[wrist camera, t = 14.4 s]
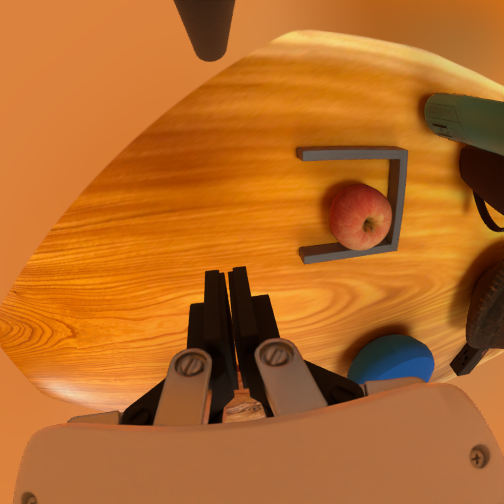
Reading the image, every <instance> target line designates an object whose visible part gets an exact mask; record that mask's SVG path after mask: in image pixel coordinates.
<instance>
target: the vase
mask: <svg viewBox="0 0 504 504" xmlns="http://www.w3.org/2000/svg"><path fill="white" fill-rule="evenodd" d="M434 365H435V364H434V358H433V355H432V353H431V351H430V350H429V349H428V347H427V346H426V345H425V344H423V343H422V342H420V341H418V340H416V339H414V338H412V337H411V336H405V335H398V334H393V335H387V336H383V337H380V338H377V339H375V340H373V341H372V342H370V343H369V344H367V345H366V346H365V347H364V348H363V349H361V351H360V352H359V353H358V354H357V356H356V357H355V358H354V360H353V362H352V364H351V366H350V369H349V371H348V375H347V379H350V380H352V381H354V382H356V383H357V384H365V381H375V380H385V379H395V378H403V377H419V378H421V379H423V380H424V381H425V382H426V383H428V381H429V379H430V377H431V375H432V372H433V370H434Z"/></svg>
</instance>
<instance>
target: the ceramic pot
mask: <svg viewBox="0 0 504 504" xmlns="http://www.w3.org/2000/svg"><path fill="white" fill-rule="evenodd" d="M466 341H467V342H468V344H469V345H470V346H471V347H472V348H476V349H480V348H499V349H504V259H503V260H501V261H500V262H498V263H497V264H495V265H494V266H492V267H491V268H489V269H488V270H487V271H485V272H484V273H483V274H482V275H481V277H480V278H479V279H478V281H477V282H476V284H475V287H474V290H473V292H472V297H471V301H470V306H469V311H468V315H467V323H466Z"/></svg>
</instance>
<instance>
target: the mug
mask: <svg viewBox="0 0 504 504" xmlns="http://www.w3.org/2000/svg"><path fill="white" fill-rule="evenodd" d="M493 153H494V152H490V151H487V150H485V151H484V150H483V149H482V148H481V149H480V148H479V147H475V146H472V145H467V146H465V147H464V148H462V149H461V154H460V161H459V167H460V174H461V178H462V179H463V180H464V181H465V182H466V184H467V185H468V186H469V187H470V188H471V189H472V190H473V195H474V199H475V202H476V206H477V208H478V211H479V214H480V216H481V218H482V220H483V221H484V223H485V224H486V226H487V227H488V228H489V229H490V230H492V231H495V232H504V228H500V227H499V226H497V225H496V224H495V222H494V221H493V220H492V218H491V217H490V215H489V213H488V210H487V208H486V205H485V202H484V201H486V202H487V203H488V204H489V205H490V206H491V207H493V208H494V209H495V210H497V211H498V212H499V213H501V214H502V215H504V156H503V155H500V154H497V153H494V154H493Z"/></svg>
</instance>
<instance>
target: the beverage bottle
mask: <svg viewBox="0 0 504 504" xmlns="http://www.w3.org/2000/svg"><path fill="white" fill-rule="evenodd" d="M454 94H456V93H452V94H446V93H445V94H443V93H441V92H440V93H437V94H434V95H432V96H430V97H429V98H428V100H427V101H426V104H425V109H424V115H425V120H426V123H427V126H428V127H429V129H430V130H431V131H432V132H433V133H435V134H436V136H437V135H438V136H441V137H442V138H444V137H445V138H446V139H447V138H449V139H448V140H451V139H452V141H453V140H456V141H459V142H460V143H466V144H469V145H472V146H475V147H479V148H480V149H481V148H482V149H483V150H484V151H485V150H487V151H490V152H494V153H497V154H500V155H503V156H504V102H501V101H495V100H490V99H483V98H478V97H472V95H471V96H465V94H464V95H463V94H462V95H458V94H457V95H454ZM456 141H455V142H456ZM459 142H458V143H459ZM494 153H493V154H494Z"/></svg>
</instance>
